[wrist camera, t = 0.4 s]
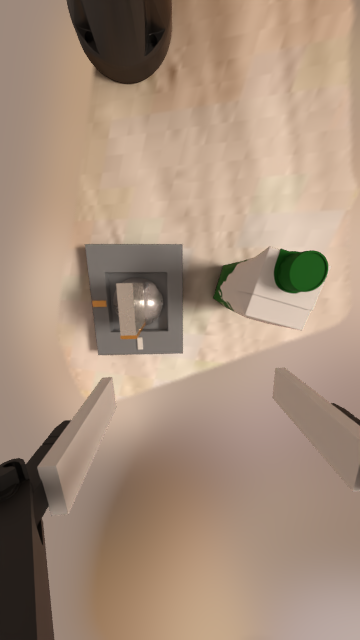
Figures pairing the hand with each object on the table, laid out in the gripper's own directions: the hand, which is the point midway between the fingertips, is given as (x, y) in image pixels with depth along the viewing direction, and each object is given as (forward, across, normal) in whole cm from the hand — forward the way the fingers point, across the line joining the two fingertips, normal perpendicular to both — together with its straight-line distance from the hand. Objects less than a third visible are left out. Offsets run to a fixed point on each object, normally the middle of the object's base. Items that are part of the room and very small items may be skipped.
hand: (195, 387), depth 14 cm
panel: (+25, -9, +4) cm, 27 cm away
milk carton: (+25, +11, +7) cm, 28 cm away
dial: (+25, -9, +4) cm, 27 cm away
